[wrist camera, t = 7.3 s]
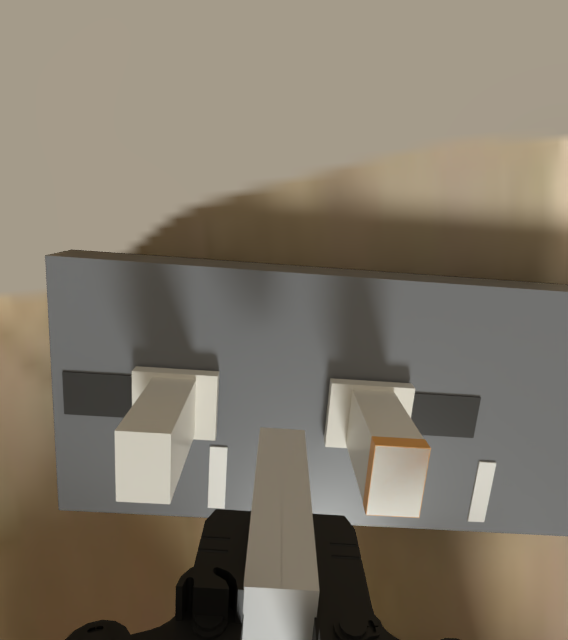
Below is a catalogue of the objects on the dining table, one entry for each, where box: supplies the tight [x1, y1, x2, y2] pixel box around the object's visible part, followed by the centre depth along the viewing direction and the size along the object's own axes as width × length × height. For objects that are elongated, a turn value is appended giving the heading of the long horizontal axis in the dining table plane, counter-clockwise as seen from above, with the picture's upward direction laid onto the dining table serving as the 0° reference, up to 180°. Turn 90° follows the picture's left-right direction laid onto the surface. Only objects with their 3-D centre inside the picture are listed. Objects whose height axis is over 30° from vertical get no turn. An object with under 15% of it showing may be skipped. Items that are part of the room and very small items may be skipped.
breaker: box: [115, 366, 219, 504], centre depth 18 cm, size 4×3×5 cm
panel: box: [45, 250, 568, 536], centre depth 22 cm, size 33×12×3 cm, turn 86°
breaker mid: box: [324, 378, 431, 518], centre depth 18 cm, size 4×3×5 cm
